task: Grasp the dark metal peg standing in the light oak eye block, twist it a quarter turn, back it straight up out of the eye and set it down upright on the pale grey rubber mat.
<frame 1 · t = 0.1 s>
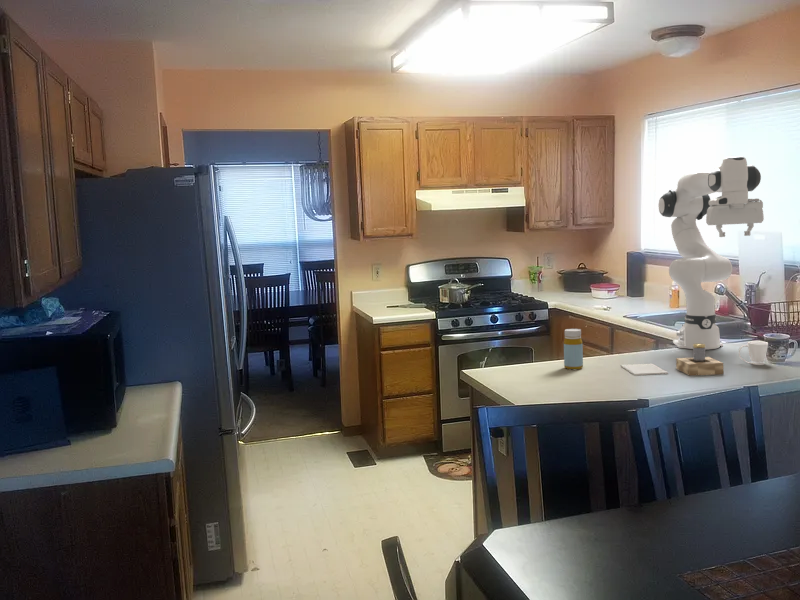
hand: (734, 236, 255), 48 cm above the kitchen counter, fingers open, 8 cm apart
eye block: (699, 371, 245), on the kitchen counter
bottle: (573, 368, 261), on the kitchen counter
peg: (699, 357, 244), in the eye block
cup: (753, 364, 253), on the kitchen counter
mat: (643, 370, 251), on the kitchen counter
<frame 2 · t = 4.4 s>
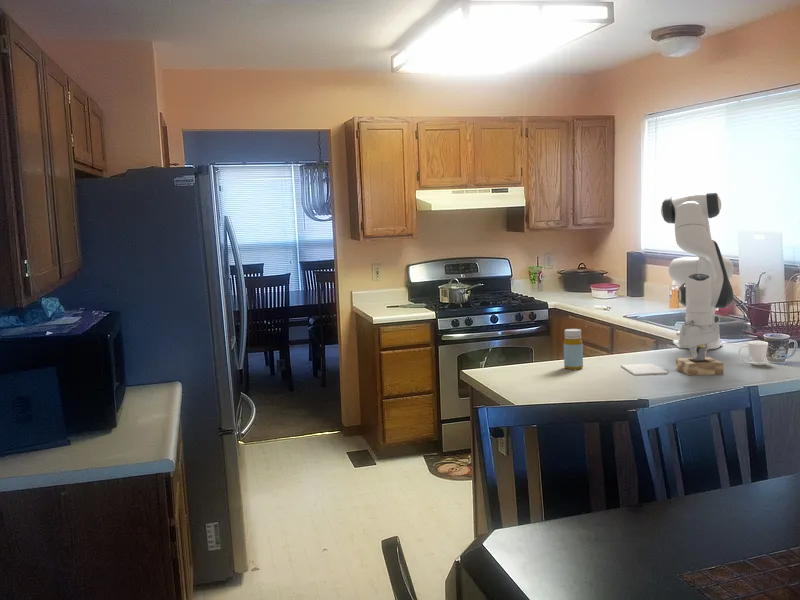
hand: (699, 357, 244), 5 cm above the kitchen counter, fingers closed on peg, 4 cm apart
peg: (699, 357, 244), in the eye block, touching gripper
everything else where it was.
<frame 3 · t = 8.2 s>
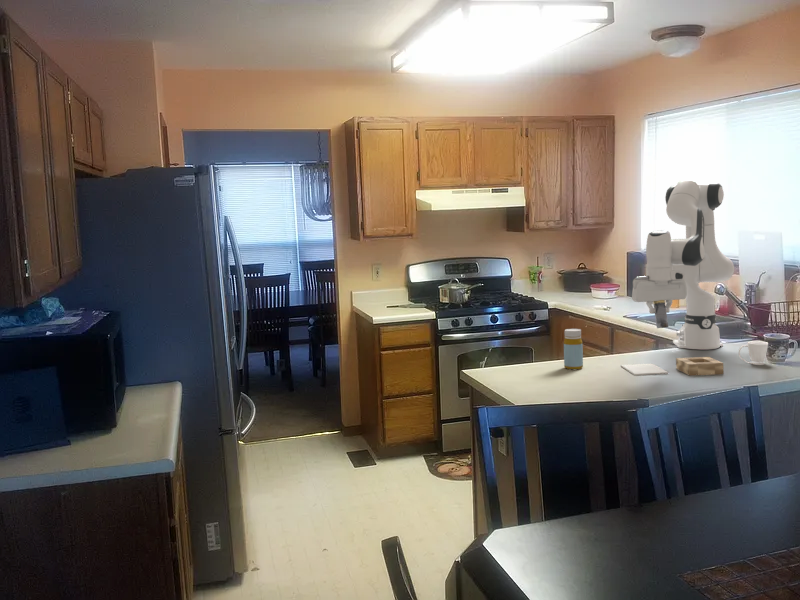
hand: (659, 312, 247), 22 cm above the kitchen counter, fingers closed on peg, 4 cm apart
peg: (660, 313, 246), point 21 cm above the kitchen counter, tilted 10°, touching gripper
everything else where it was.
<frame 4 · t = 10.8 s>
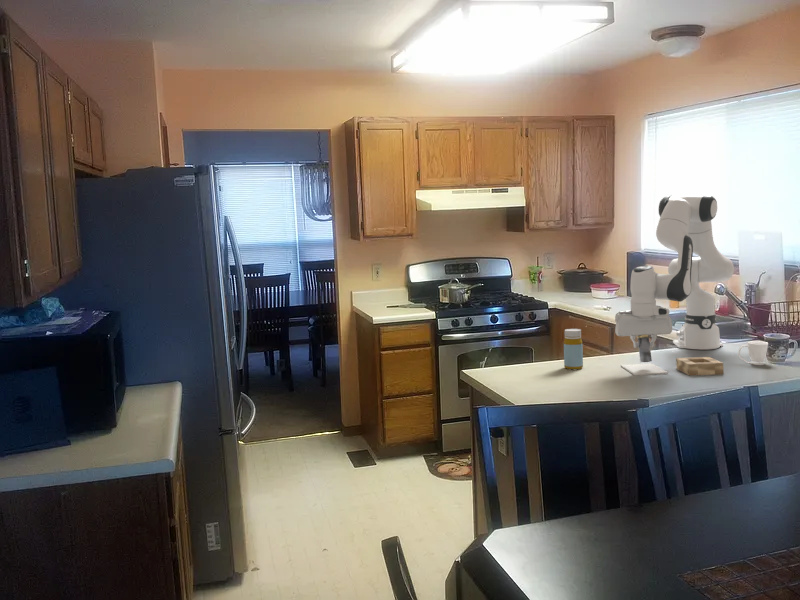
hand: (643, 347, 250), 9 cm above the kitchen counter, fingers closed on peg, 4 cm apart
peg: (644, 348, 249), point 8 cm above the kitchen counter, tilted 10°, touching gripper
everything else where it was.
when the fingers open (7 cm above the kitchen counter, at t = 12.1 s): peg stays where it is, resting on mat.
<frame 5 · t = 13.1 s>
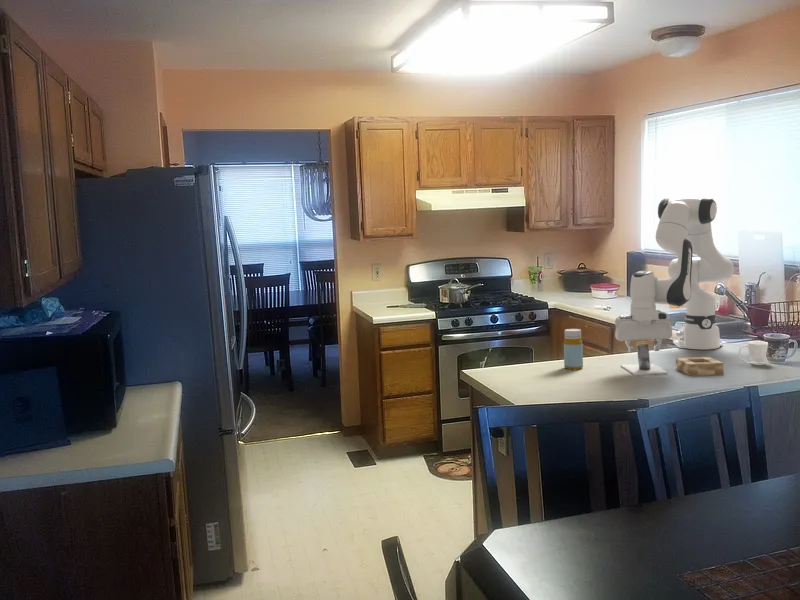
hand: (643, 351, 250), 7 cm above the kitchen counter, fingers open, 8 cm apart
peg: (643, 355, 250), on the mat, point 6 cm above the kitchen counter, tilted 6°
everything else where it was.
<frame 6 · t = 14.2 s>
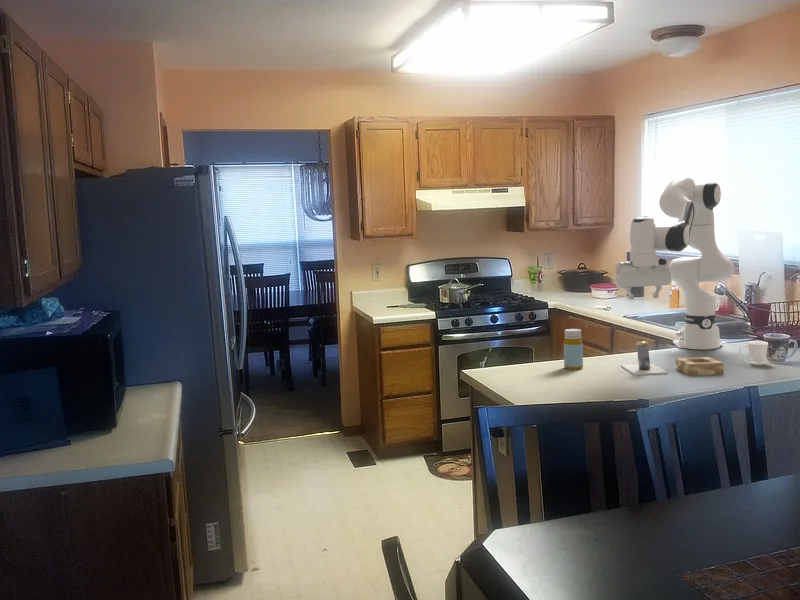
hand: (643, 298, 248), 27 cm above the kitchen counter, fingers open, 8 cm apart
nothing on the kitchen counter moved.
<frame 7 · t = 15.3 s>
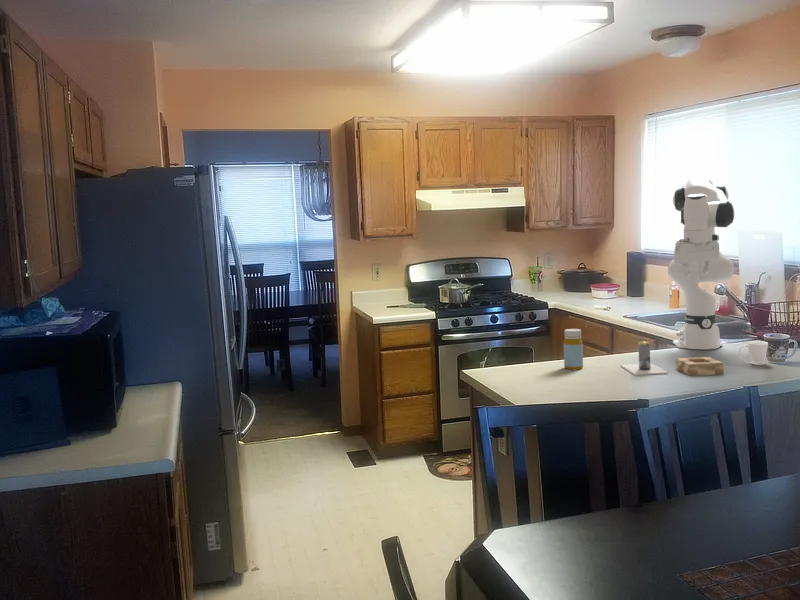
hand: (696, 274, 255), 34 cm above the kitchen counter, fingers open, 8 cm apart
nothing on the kitchen counter moved.
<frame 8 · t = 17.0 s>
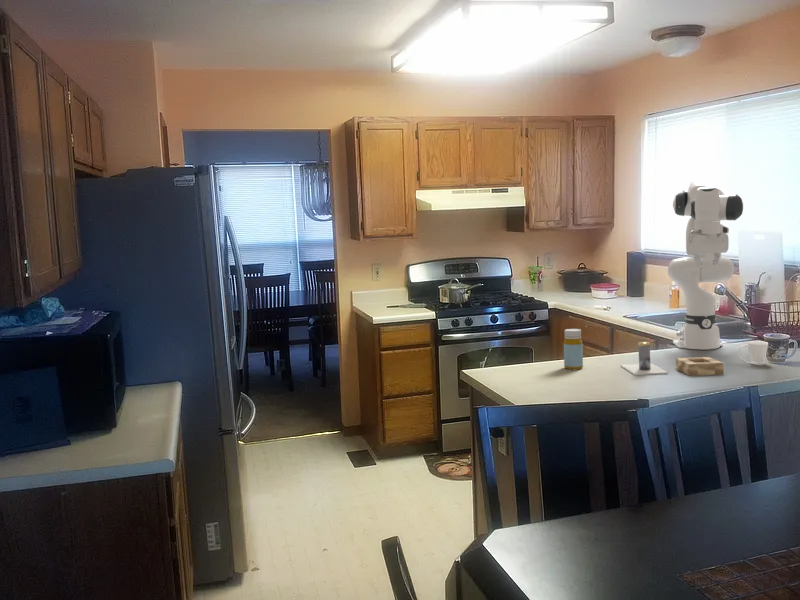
hand: (707, 266, 257), 37 cm above the kitchen counter, fingers open, 8 cm apart
at the end: peg inside the target area on the mat (1.4 cm from its centre), point 5.8 cm above the mat's base; peg tilted 5°; the gripper is holding nothing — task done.
